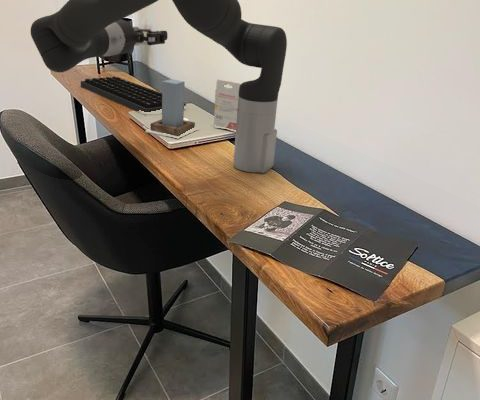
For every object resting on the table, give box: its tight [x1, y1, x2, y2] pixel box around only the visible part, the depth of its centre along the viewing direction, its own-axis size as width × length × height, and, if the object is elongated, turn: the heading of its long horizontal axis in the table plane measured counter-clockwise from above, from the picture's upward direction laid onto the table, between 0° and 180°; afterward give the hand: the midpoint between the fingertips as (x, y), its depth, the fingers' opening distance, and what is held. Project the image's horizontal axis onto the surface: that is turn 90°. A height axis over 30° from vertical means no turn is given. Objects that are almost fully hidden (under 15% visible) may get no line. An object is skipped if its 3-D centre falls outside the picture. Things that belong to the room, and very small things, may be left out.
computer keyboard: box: [80, 76, 187, 112], centre depth 175 cm, size 45×16×4 cm, turn 43°
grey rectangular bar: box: [161, 78, 186, 127], centre depth 140 cm, size 4×4×14 cm
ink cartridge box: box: [213, 79, 242, 130], centre depth 147 cm, size 9×5×15 cm, turn 62°
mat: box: [144, 128, 180, 140], centre depth 143 cm, size 11×12×1 cm
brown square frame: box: [150, 118, 196, 136], centre depth 143 cm, size 9×9×2 cm
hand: (151, 33), depth 122 cm, fingers open, 8 cm apart
